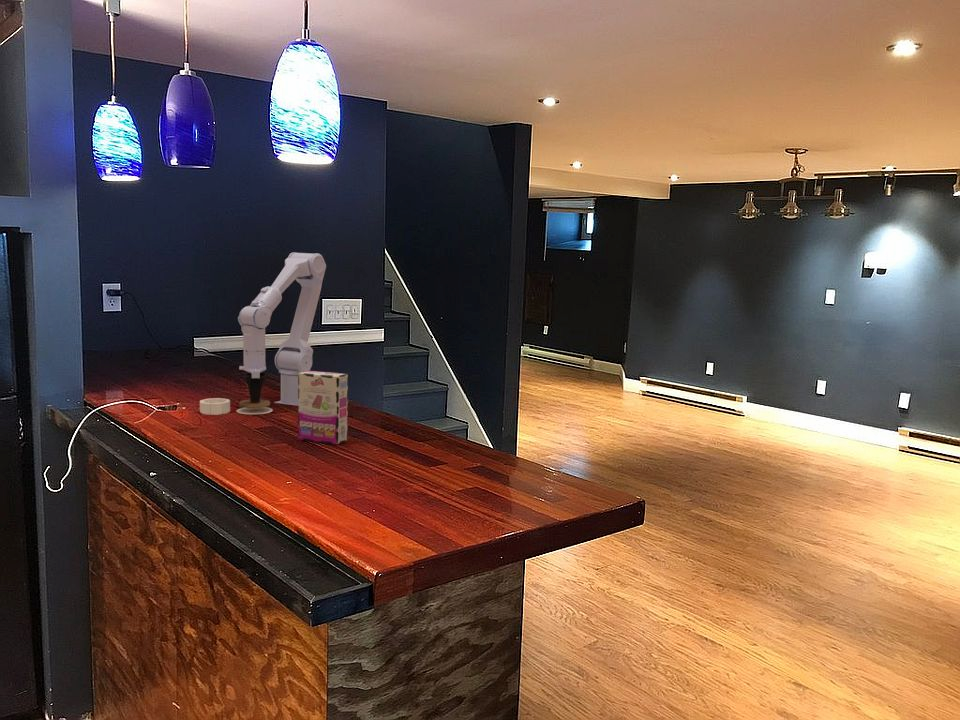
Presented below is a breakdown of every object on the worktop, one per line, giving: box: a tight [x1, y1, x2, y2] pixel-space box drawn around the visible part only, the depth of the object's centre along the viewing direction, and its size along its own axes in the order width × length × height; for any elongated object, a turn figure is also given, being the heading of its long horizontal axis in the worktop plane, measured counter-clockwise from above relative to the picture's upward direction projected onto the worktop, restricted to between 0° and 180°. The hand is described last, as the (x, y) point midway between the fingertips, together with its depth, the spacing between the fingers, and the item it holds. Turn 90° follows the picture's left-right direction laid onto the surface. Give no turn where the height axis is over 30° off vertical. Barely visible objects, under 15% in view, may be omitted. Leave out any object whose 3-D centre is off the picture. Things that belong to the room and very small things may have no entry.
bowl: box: [199, 397, 231, 416], centre depth 210 cm, size 8×8×4 cm
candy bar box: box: [297, 370, 349, 445], centre depth 186 cm, size 11×5×16 cm, turn 70°
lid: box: [239, 397, 271, 408], centre depth 213 cm, size 8×8×5 cm
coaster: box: [236, 406, 274, 415], centre depth 213 cm, size 10×10×1 cm
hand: (254, 399), depth 213 cm, fingers closed on lid, 3 cm apart
